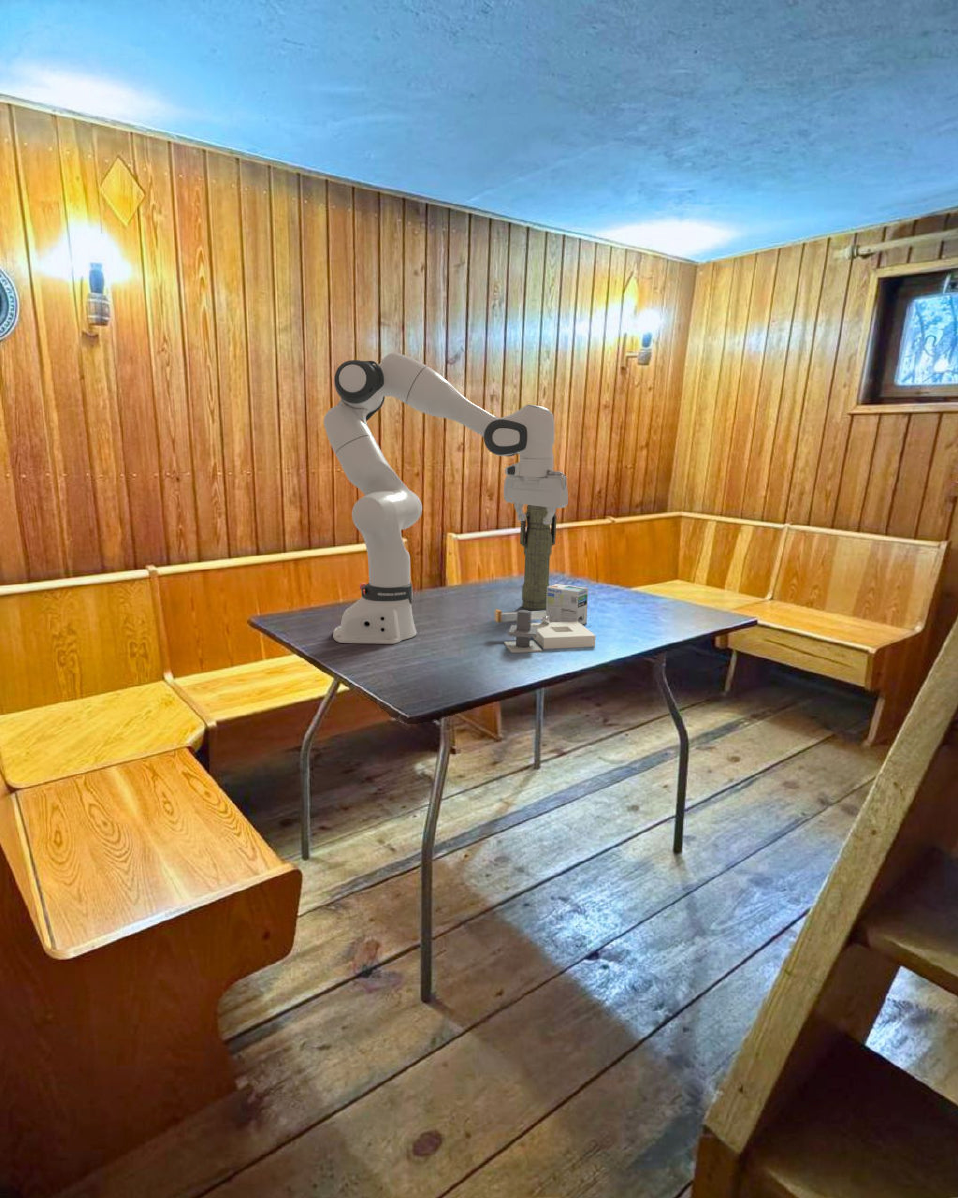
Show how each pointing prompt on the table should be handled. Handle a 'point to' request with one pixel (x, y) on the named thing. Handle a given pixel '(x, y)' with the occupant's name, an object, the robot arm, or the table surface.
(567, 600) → the light bulb box
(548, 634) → the socket
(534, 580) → the thermos
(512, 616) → the ball-tipped lever rod
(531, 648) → the mat
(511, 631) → the plug
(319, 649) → the table surface
